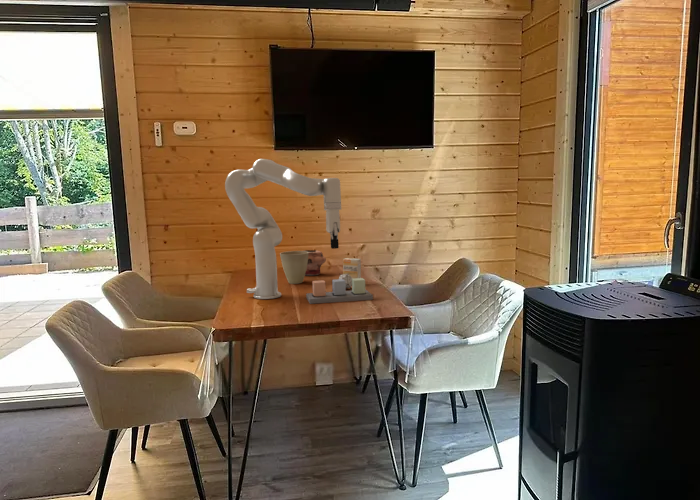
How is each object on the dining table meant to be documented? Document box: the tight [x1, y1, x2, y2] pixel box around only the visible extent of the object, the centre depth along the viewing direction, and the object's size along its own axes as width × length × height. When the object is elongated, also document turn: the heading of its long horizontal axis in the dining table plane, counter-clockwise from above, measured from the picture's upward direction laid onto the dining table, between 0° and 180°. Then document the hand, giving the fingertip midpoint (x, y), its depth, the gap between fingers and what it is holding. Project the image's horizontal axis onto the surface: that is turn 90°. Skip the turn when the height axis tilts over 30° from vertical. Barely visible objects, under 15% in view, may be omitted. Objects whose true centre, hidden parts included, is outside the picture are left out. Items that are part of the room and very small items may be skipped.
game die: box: [338, 272, 353, 290], centre depth 239 cm, size 9×8×10 cm
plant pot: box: [279, 250, 309, 285], centre depth 257 cm, size 15×15×16 cm
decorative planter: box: [304, 249, 327, 276], centre depth 280 cm, size 20×12×14 cm, turn 91°
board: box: [305, 289, 374, 305], centre depth 220 cm, size 28×12×2 cm, turn 103°
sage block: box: [351, 277, 366, 294], centre depth 221 cm, size 5×5×6 cm
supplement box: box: [342, 257, 362, 278], centre depth 252 cm, size 8×5×13 cm, turn 68°
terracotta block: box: [312, 279, 327, 296], centre depth 217 cm, size 5×5×6 cm
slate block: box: [331, 278, 347, 295], centre depth 219 cm, size 5×5×6 cm
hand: (334, 248), depth 216 cm, fingers closed
